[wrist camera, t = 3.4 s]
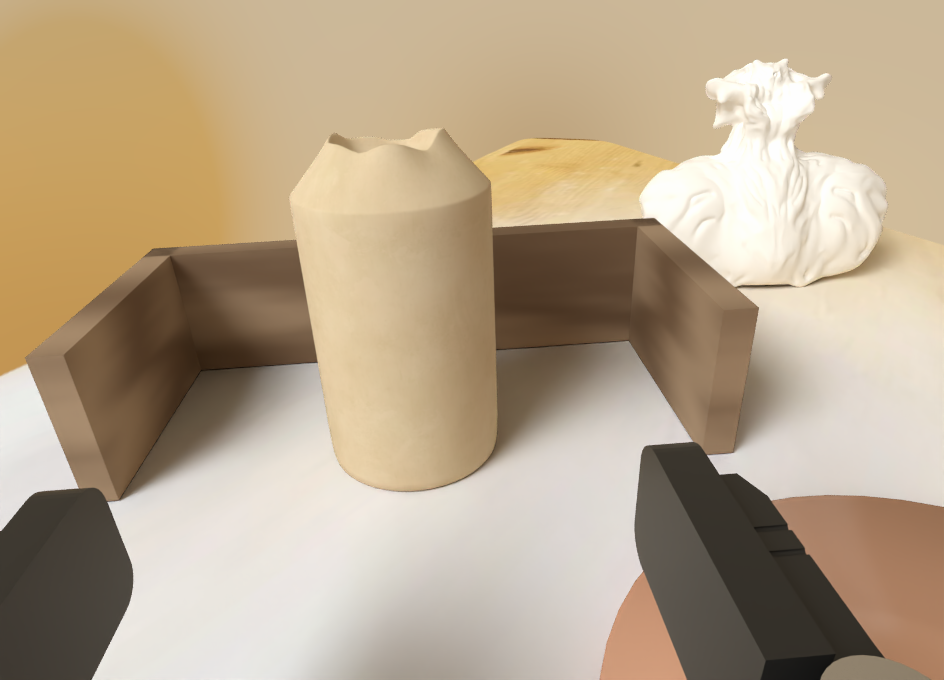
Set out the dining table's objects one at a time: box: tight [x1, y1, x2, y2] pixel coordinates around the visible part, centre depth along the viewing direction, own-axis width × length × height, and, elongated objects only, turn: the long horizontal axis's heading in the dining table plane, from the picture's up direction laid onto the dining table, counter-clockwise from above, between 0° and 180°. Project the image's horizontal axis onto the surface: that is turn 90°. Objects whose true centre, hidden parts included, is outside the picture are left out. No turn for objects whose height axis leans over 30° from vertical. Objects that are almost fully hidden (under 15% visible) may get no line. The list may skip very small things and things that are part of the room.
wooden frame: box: [25, 218, 759, 501], centre depth 22 cm, size 9×20×5 cm, turn 94°
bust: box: [639, 59, 888, 287], centre depth 32 cm, size 12×8×11 cm
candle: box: [289, 128, 497, 491], centre depth 19 cm, size 6×6×10 cm
